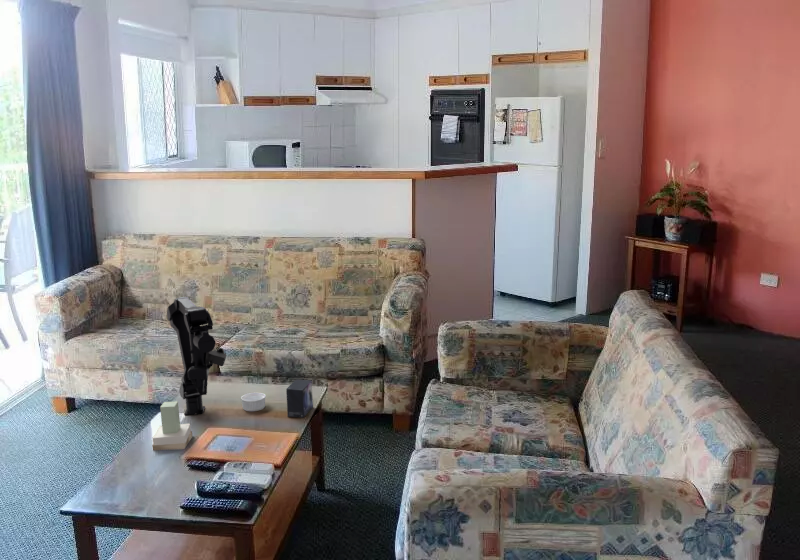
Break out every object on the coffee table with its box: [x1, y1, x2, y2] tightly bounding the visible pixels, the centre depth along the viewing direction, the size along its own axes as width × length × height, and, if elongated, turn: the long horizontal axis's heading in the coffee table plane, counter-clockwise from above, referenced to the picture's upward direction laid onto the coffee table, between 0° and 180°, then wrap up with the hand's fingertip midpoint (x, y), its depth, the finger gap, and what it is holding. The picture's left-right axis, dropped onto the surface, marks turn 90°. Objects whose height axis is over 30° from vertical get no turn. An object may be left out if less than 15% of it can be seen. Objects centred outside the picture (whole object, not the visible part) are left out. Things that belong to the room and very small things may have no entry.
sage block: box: [159, 401, 181, 434], centre depth 242 cm, size 4×4×9 cm
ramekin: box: [240, 392, 267, 412], centre depth 272 cm, size 9×9×4 cm
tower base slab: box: [152, 430, 193, 451], centre depth 243 cm, size 10×10×2 cm
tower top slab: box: [152, 423, 192, 445], centre depth 243 cm, size 10×10×2 cm
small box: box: [286, 378, 314, 419], centre depth 265 cm, size 11×6×10 cm, turn 168°
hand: (203, 389), depth 254 cm, fingers open, 9 cm apart
